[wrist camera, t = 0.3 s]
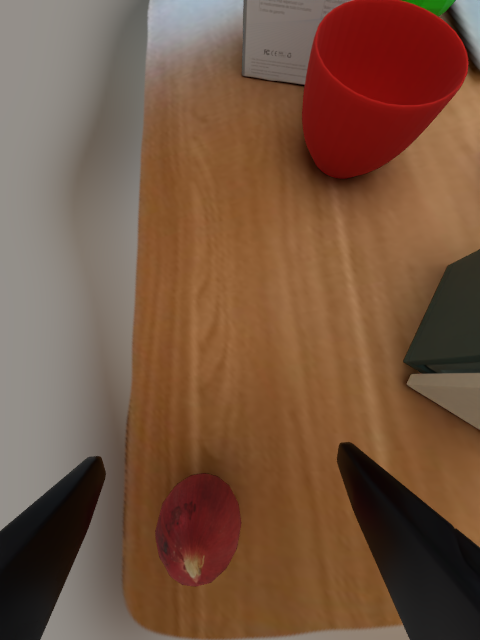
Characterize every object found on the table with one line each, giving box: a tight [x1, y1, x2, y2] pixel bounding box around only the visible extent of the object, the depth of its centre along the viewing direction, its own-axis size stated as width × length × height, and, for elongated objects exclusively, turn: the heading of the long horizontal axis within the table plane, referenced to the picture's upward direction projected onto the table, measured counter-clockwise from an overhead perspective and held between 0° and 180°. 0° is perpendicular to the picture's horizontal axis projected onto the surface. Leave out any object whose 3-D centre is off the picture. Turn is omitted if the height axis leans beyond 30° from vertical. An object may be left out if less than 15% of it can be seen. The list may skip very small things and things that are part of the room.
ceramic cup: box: [302, 0, 468, 179], centre depth 25 cm, size 13×17×10 cm
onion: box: [155, 473, 241, 586], centre depth 17 cm, size 6×6×8 cm
